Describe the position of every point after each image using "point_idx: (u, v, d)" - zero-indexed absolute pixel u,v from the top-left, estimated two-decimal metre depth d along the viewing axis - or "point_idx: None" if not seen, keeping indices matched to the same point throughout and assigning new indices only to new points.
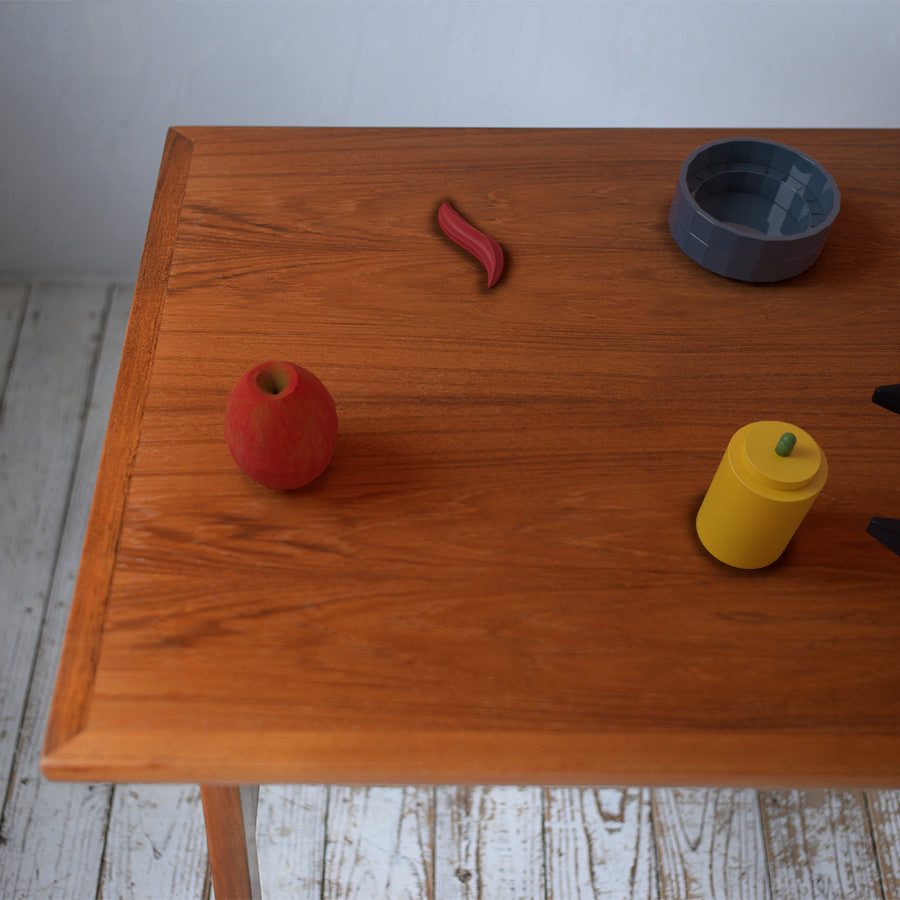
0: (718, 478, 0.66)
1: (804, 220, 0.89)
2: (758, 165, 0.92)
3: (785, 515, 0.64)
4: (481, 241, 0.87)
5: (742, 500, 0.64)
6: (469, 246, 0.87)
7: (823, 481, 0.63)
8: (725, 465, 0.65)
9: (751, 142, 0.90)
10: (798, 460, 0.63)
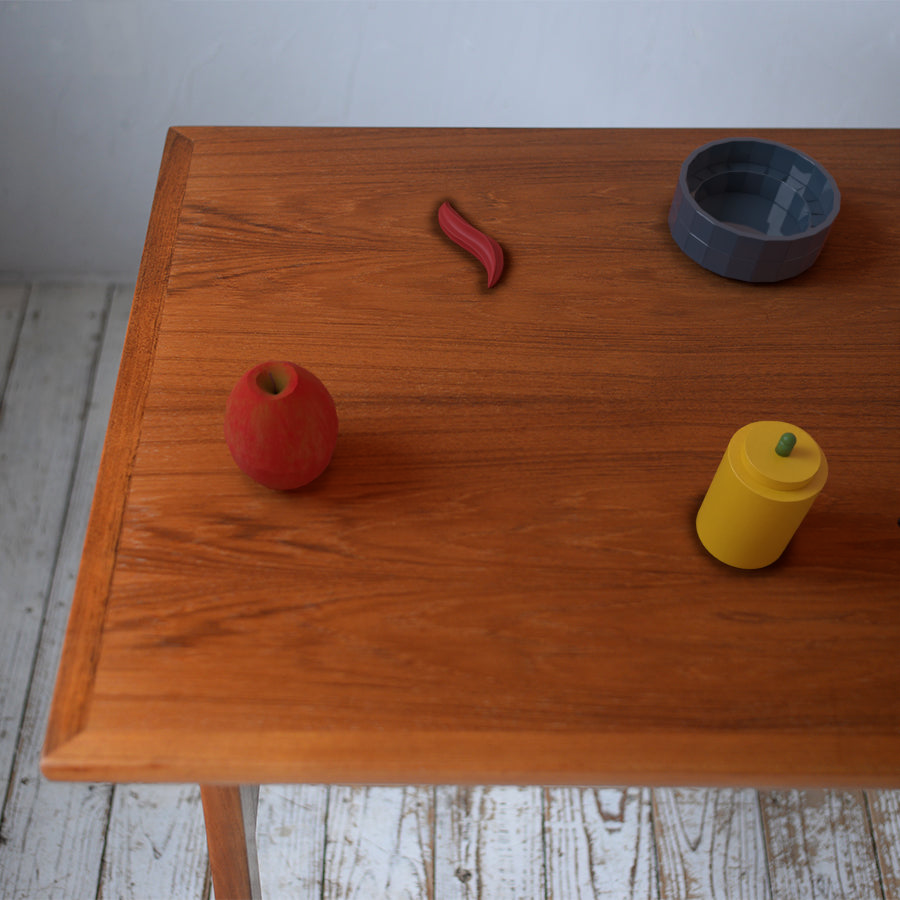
0: (718, 478, 0.66)
1: (804, 220, 0.89)
2: (758, 165, 0.92)
3: (785, 515, 0.64)
4: (481, 241, 0.87)
5: (742, 500, 0.64)
6: (469, 246, 0.87)
7: (823, 481, 0.63)
8: (725, 465, 0.65)
9: (751, 142, 0.90)
10: (798, 460, 0.63)
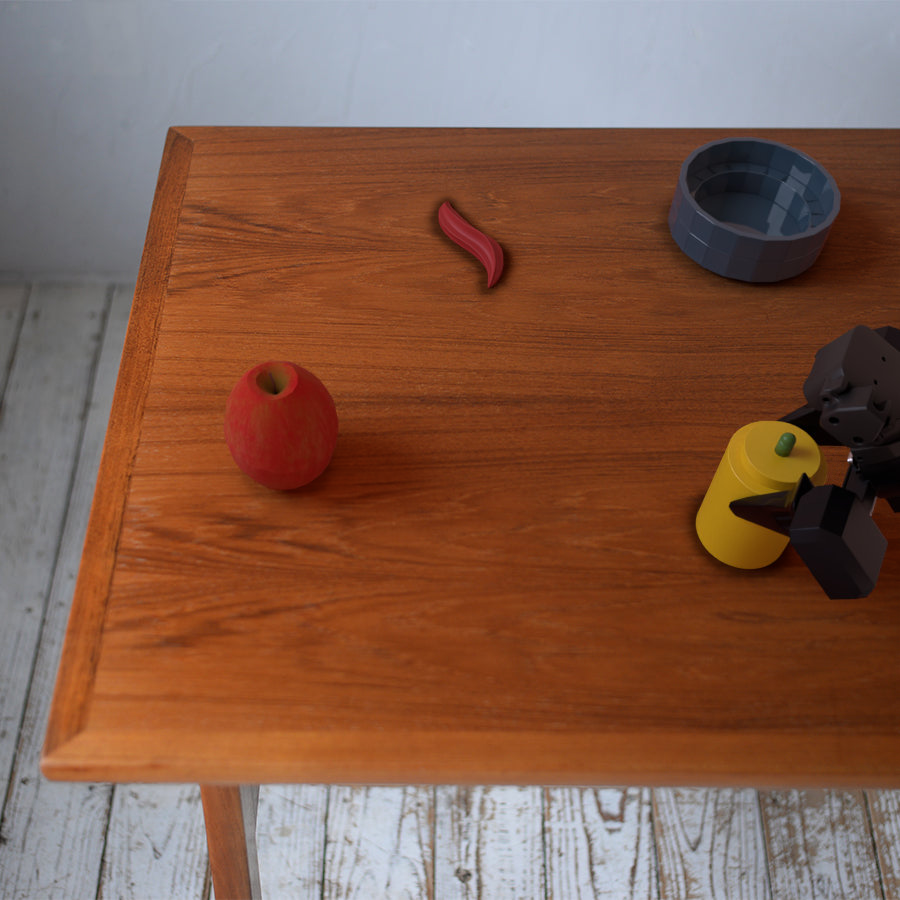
0: (718, 478, 0.66)
1: (804, 220, 0.89)
2: (758, 165, 0.92)
3: None
4: (481, 241, 0.87)
5: None
6: (469, 246, 0.87)
7: (823, 481, 0.63)
8: (725, 465, 0.65)
9: (751, 142, 0.90)
10: (798, 460, 0.63)
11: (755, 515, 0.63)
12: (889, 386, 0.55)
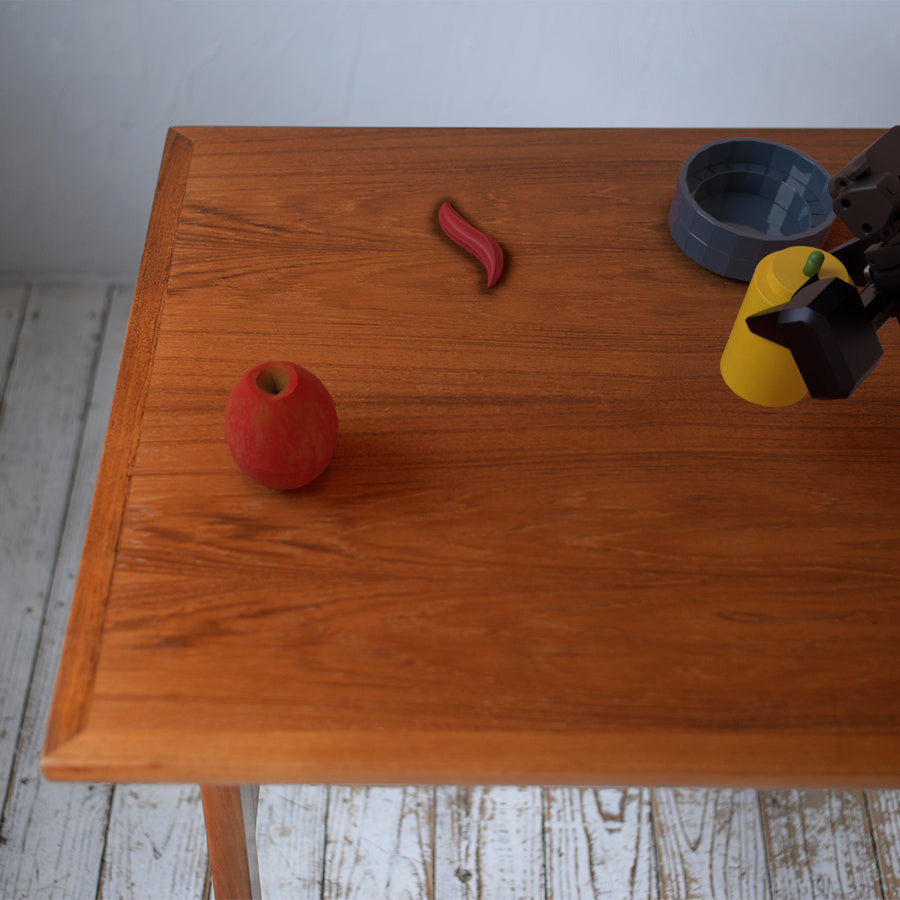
0: (744, 298, 0.66)
1: (804, 220, 0.89)
2: (758, 165, 0.92)
3: None
4: (481, 241, 0.87)
5: None
6: (469, 246, 0.87)
7: None
8: (751, 281, 0.65)
9: (751, 142, 0.90)
10: None
11: (767, 327, 0.62)
12: None
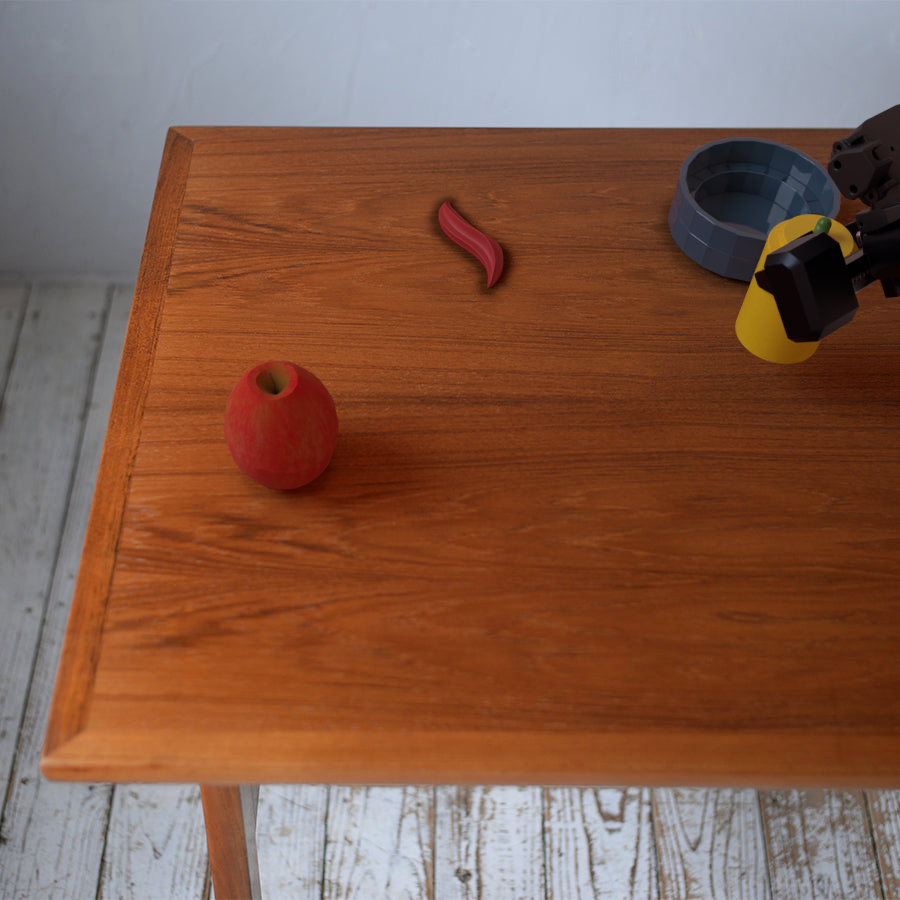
0: None
1: None
2: (758, 165, 0.92)
3: None
4: (481, 241, 0.87)
5: None
6: (469, 246, 0.87)
7: None
8: None
9: (751, 142, 0.90)
10: None
11: None
12: None
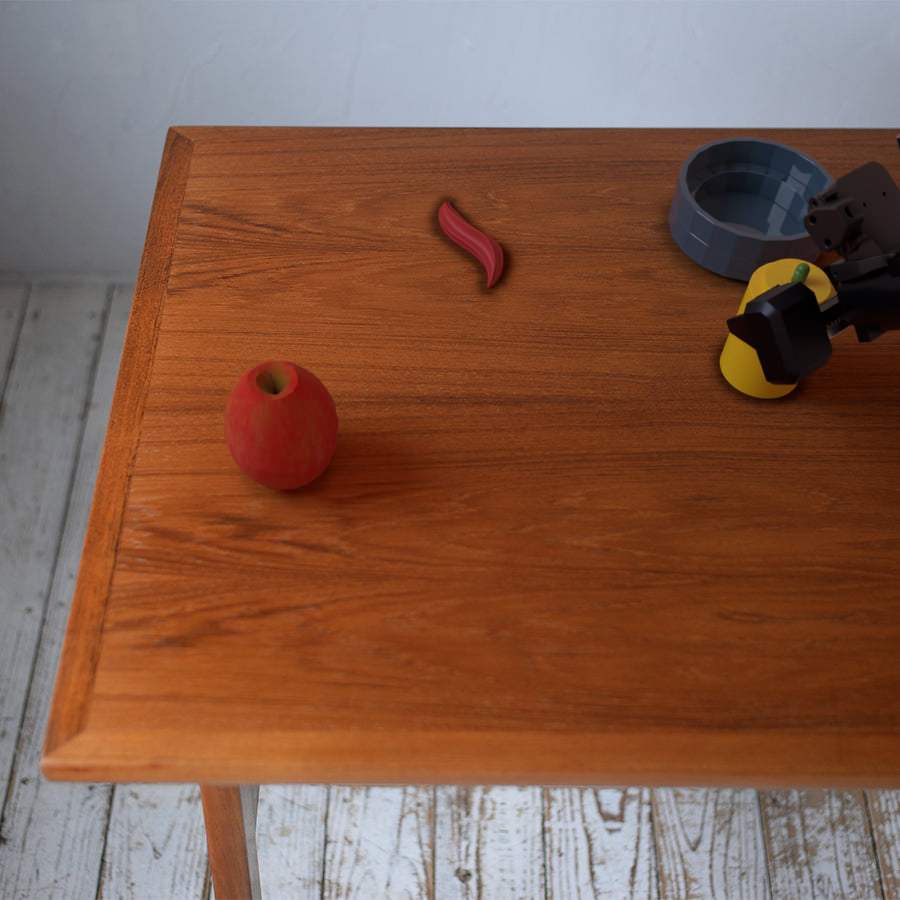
0: None
1: None
2: (758, 165, 0.92)
3: None
4: (481, 241, 0.87)
5: None
6: (469, 246, 0.87)
7: None
8: None
9: (751, 142, 0.90)
10: None
11: (740, 328, 0.72)
12: (877, 213, 0.63)
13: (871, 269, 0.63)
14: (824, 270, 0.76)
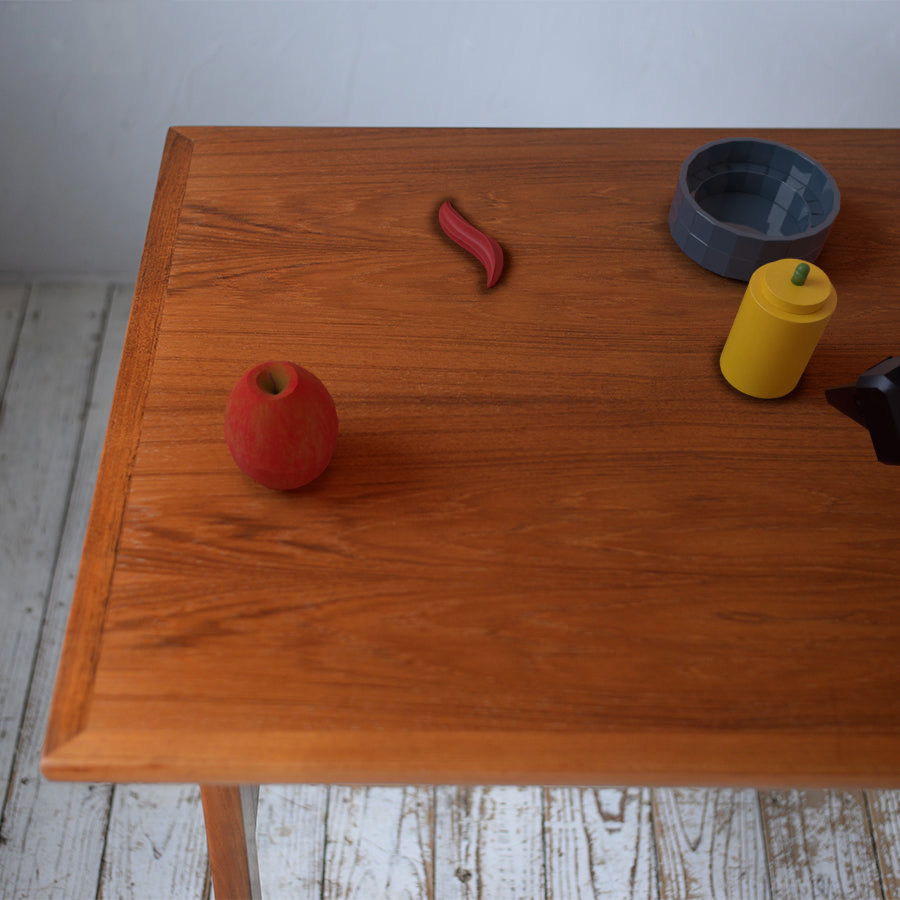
0: None
1: (804, 220, 0.89)
2: (758, 165, 0.92)
3: (779, 336, 0.73)
4: (481, 241, 0.87)
5: (749, 313, 0.74)
6: (469, 246, 0.87)
7: (822, 317, 0.72)
8: None
9: (751, 142, 0.90)
10: (806, 291, 0.72)
11: (842, 400, 0.67)
12: None
13: None
14: None
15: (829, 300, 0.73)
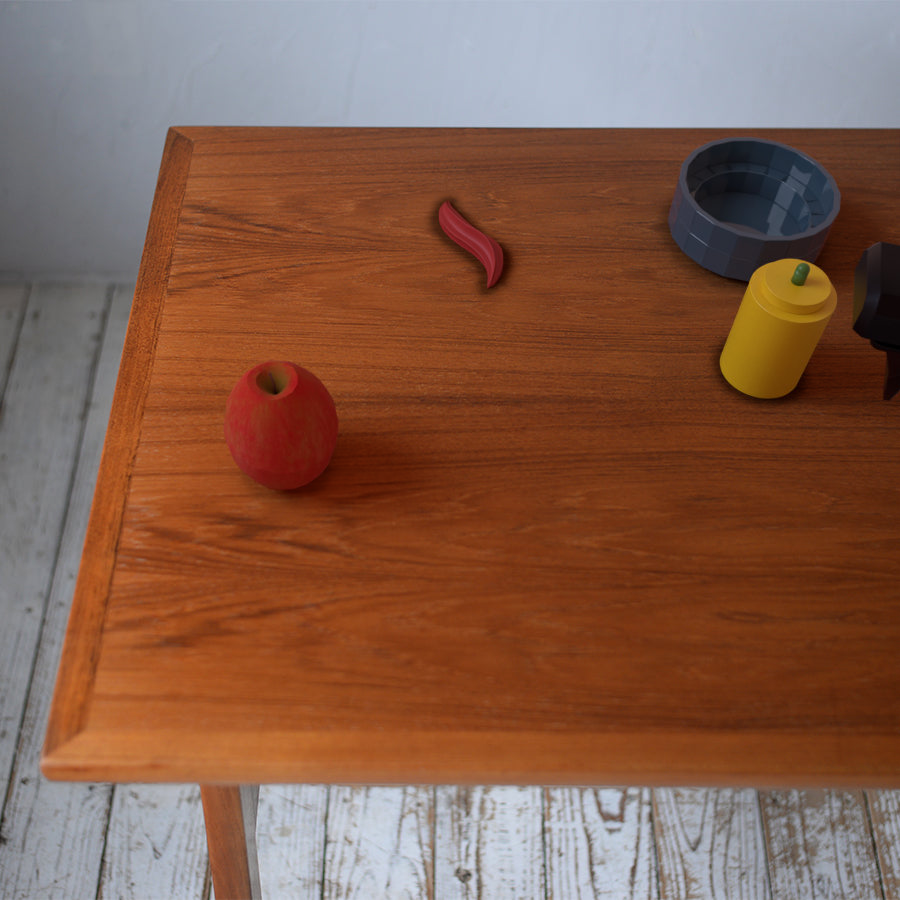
0: None
1: (804, 220, 0.89)
2: (758, 165, 0.92)
3: (779, 336, 0.73)
4: (481, 241, 0.87)
5: (749, 313, 0.74)
6: (469, 246, 0.87)
7: (822, 317, 0.72)
8: None
9: (751, 142, 0.90)
10: (806, 291, 0.72)
11: (885, 372, 0.61)
12: None
13: None
14: None
15: (829, 300, 0.73)
